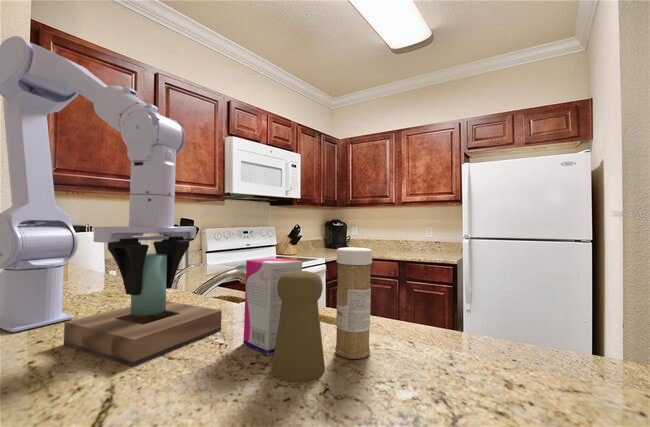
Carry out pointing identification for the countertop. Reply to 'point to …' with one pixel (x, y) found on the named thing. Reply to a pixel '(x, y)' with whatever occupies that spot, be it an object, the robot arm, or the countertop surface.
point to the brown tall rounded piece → (299, 328)
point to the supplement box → (264, 301)
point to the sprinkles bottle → (353, 302)
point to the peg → (151, 287)
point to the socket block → (141, 332)
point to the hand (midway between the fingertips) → (149, 291)
